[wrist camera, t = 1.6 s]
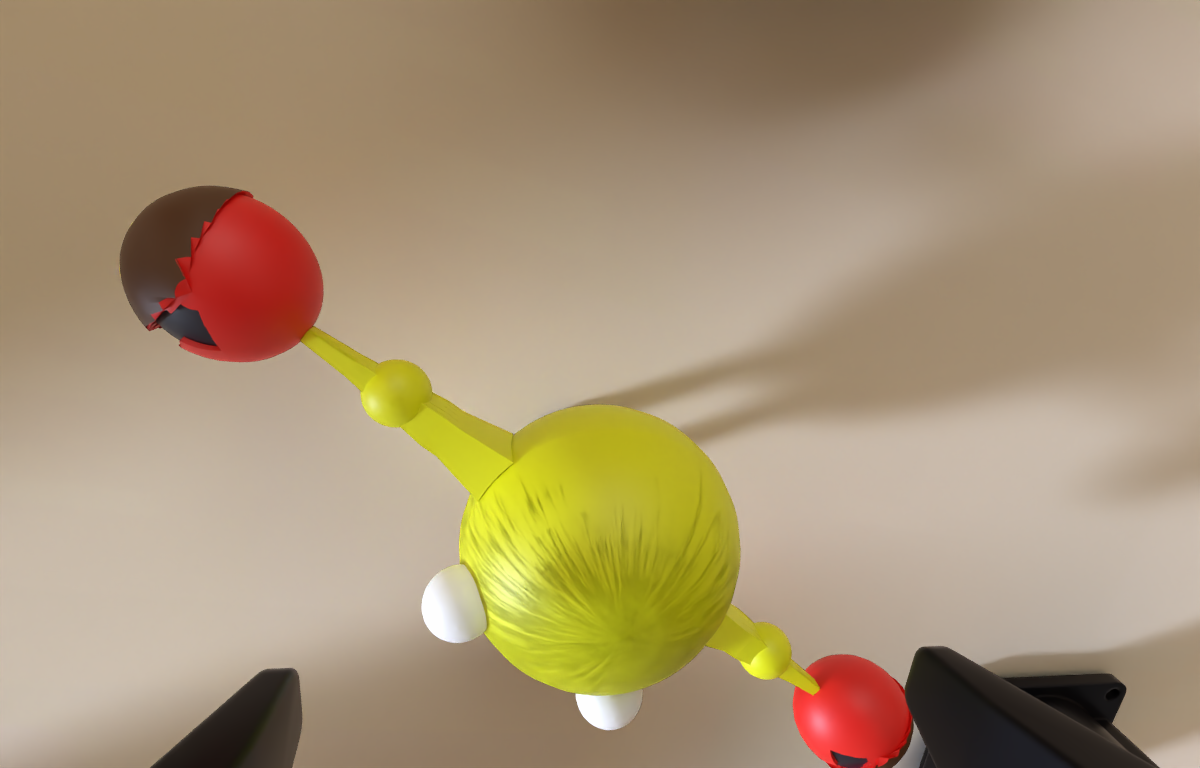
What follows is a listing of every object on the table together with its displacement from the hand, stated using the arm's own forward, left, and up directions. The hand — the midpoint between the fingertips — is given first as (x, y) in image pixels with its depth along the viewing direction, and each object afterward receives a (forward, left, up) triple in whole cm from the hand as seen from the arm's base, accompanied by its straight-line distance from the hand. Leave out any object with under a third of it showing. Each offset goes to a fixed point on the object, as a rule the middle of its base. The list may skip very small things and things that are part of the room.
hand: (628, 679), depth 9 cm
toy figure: (0, 0, -8) cm, 8 cm away
